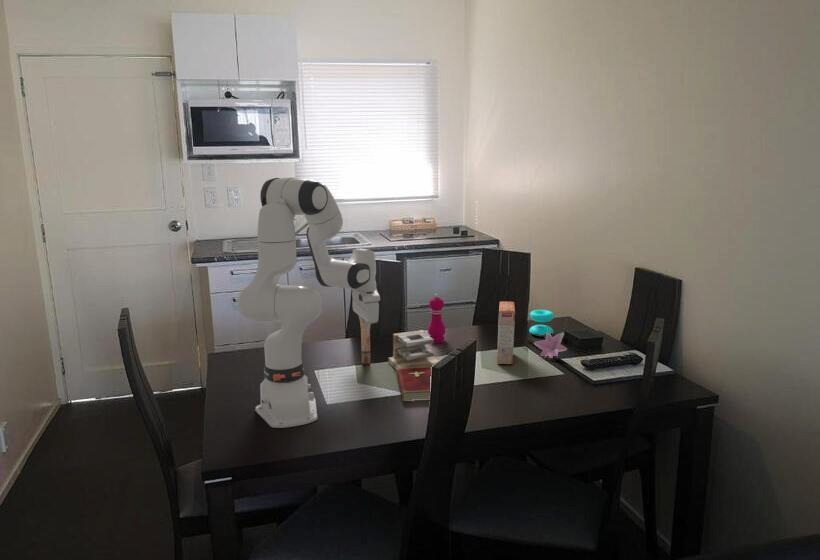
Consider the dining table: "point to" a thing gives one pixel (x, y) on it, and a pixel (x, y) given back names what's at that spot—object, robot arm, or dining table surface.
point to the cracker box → (506, 332)
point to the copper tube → (365, 344)
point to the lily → (551, 345)
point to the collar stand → (412, 350)
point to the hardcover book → (414, 382)
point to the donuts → (541, 317)
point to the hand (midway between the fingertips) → (365, 328)
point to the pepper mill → (436, 320)
